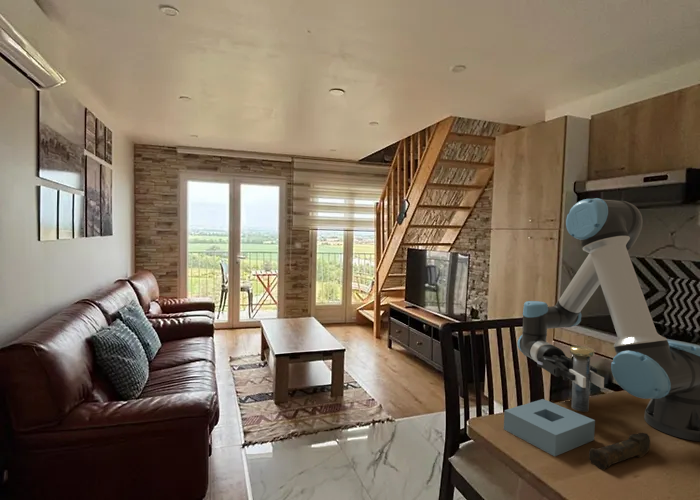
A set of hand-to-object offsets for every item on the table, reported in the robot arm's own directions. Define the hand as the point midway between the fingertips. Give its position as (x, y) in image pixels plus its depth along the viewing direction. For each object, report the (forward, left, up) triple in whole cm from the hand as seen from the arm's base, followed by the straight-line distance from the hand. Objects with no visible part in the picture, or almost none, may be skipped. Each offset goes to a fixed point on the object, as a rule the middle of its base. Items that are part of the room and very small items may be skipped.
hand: (593, 382), depth 101 cm
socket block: (+4, +11, -13) cm, 18 cm away
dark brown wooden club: (-10, +5, -13) cm, 17 cm away
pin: (+5, -3, -9) cm, 10 cm away
